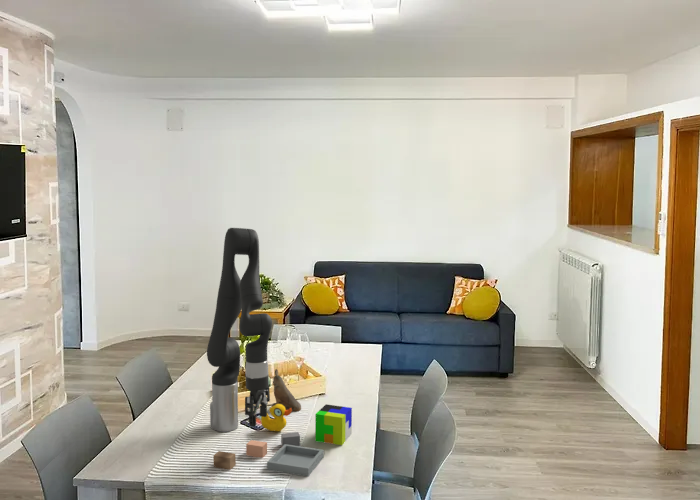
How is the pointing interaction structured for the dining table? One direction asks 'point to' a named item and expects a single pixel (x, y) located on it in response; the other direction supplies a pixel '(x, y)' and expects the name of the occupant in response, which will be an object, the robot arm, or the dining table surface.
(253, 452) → the terracotta brick
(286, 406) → the worn brown figurine
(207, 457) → the dining table surface
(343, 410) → the puzzle toy
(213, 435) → the dining table surface
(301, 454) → the slate tray
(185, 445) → the dining table surface
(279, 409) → the duckling
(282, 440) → the charcoal brick
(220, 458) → the walnut brick
